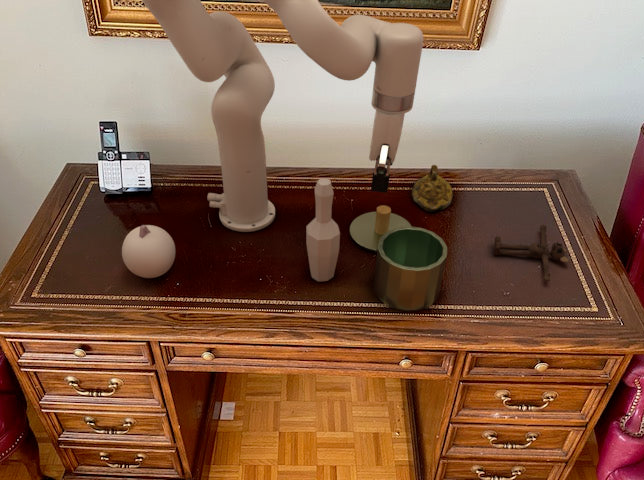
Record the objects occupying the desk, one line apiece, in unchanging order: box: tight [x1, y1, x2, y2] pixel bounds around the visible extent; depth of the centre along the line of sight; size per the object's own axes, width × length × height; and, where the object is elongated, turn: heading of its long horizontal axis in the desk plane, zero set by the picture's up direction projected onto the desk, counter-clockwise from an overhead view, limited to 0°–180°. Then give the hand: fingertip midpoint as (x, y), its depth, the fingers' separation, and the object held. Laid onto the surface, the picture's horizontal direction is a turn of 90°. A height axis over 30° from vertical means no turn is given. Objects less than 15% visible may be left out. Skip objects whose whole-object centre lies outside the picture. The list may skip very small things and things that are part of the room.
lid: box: [349, 204, 413, 253], centre depth 134 cm, size 14×14×7 cm
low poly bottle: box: [305, 177, 341, 282], centre depth 120 cm, size 6×6×22 cm
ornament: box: [121, 224, 176, 279], centre depth 125 cm, size 10×10×12 cm
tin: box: [373, 226, 448, 312], centre depth 120 cm, size 13×13×10 cm
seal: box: [411, 164, 454, 213], centre depth 145 cm, size 9×5×15 cm
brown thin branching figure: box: [493, 224, 570, 282], centre depth 129 cm, size 18×4×14 cm
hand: (381, 177), depth 126 cm, fingers open, 9 cm apart
